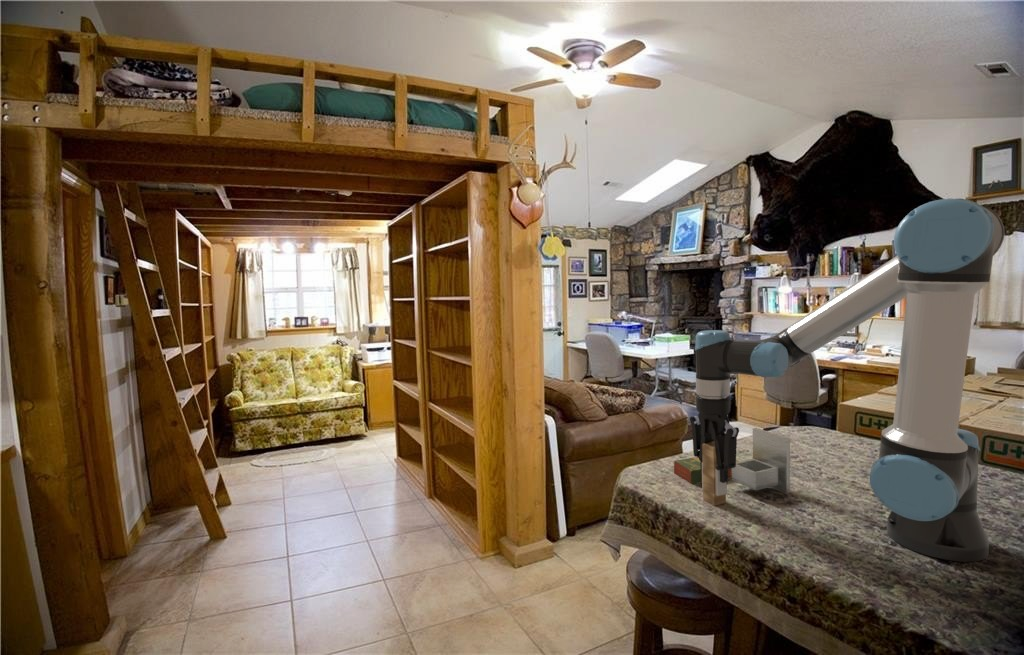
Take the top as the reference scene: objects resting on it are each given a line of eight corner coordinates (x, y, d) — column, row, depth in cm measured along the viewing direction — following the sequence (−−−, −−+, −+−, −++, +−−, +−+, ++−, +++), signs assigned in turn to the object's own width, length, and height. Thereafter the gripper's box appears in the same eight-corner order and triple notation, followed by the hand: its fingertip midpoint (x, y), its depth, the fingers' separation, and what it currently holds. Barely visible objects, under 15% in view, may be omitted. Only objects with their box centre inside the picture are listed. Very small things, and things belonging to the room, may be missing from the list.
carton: (743, 477, 132) (743, 462, 132) (690, 485, 129) (690, 470, 128) (723, 466, 140) (723, 452, 140) (673, 474, 137) (673, 459, 136)
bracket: (790, 493, 120) (790, 437, 119) (760, 501, 117) (759, 444, 116) (756, 479, 130) (756, 427, 129) (727, 486, 126) (727, 433, 125)
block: (725, 502, 117) (725, 445, 116) (714, 505, 116) (713, 448, 115) (714, 496, 120) (713, 441, 119) (703, 499, 119) (702, 443, 118)
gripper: (753, 400, 110) (754, 501, 112) (699, 387, 125) (701, 476, 127) (728, 404, 107) (729, 507, 109) (676, 391, 122) (678, 481, 124)
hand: (714, 490), depth 118 cm, fingers closed on block, 4 cm apart
